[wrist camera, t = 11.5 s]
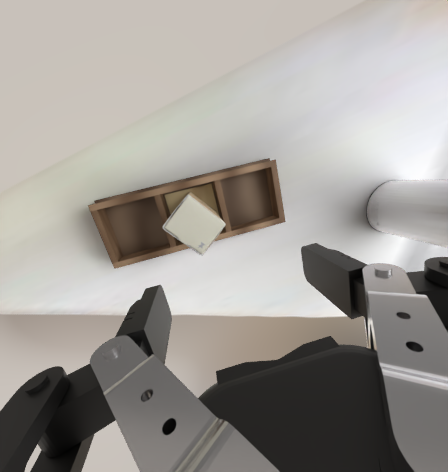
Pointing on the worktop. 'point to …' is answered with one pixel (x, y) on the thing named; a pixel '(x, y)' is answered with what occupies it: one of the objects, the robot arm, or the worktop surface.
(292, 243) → the worktop surface
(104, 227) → the tray
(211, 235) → the box
